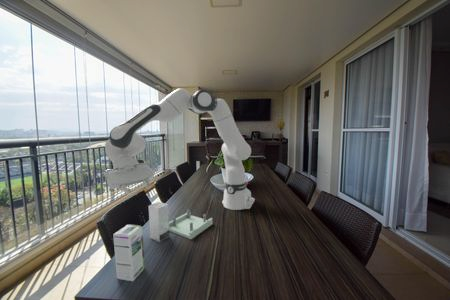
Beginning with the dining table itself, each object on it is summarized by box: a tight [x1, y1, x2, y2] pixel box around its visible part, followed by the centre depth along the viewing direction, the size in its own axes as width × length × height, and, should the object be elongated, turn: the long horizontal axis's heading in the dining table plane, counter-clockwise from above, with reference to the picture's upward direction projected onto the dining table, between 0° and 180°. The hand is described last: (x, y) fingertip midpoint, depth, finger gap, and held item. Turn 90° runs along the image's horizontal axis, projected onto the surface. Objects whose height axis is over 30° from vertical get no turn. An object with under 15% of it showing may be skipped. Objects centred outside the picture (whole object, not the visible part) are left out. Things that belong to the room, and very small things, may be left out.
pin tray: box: [169, 209, 214, 240], centre depth 86 cm, size 15×15×5 cm
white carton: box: [148, 201, 170, 243], centre depth 77 cm, size 5×6×14 cm
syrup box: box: [113, 224, 146, 282], centre depth 57 cm, size 6×6×14 cm
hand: (139, 190), depth 82 cm, fingers open, 8 cm apart
